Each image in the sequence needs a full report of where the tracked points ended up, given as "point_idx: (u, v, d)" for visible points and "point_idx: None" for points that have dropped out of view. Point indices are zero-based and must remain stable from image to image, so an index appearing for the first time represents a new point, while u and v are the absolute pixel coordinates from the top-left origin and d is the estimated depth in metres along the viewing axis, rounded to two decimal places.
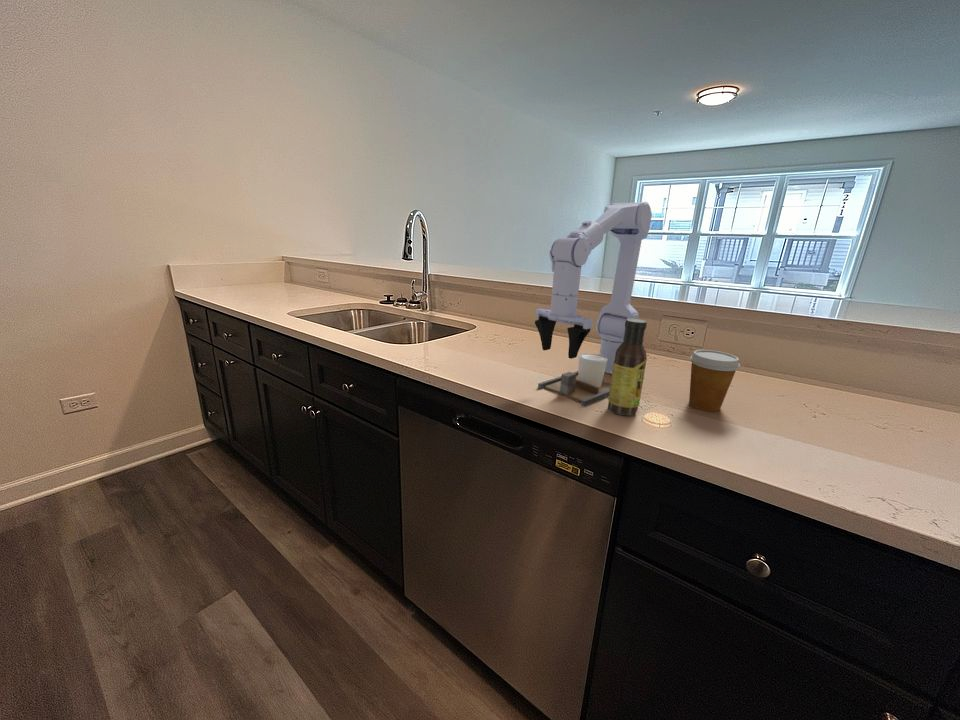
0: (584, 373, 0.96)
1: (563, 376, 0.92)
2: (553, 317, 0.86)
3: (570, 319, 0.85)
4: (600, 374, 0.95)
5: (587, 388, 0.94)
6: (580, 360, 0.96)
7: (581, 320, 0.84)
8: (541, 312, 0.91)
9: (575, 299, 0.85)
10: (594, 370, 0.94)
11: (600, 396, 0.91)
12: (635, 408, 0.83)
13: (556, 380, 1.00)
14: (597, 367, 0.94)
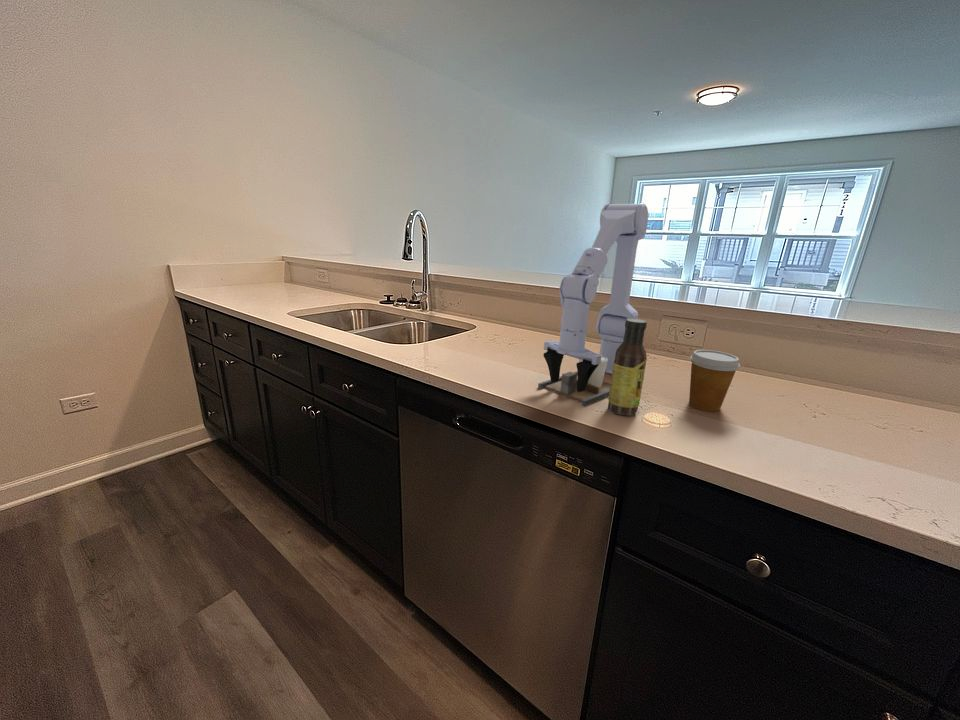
0: None
1: (563, 376, 0.92)
2: (562, 352, 0.87)
3: (579, 354, 0.86)
4: (600, 374, 0.95)
5: (588, 387, 0.94)
6: (580, 360, 0.96)
7: (590, 356, 0.85)
8: (550, 345, 0.93)
9: (584, 334, 0.87)
10: (594, 370, 0.95)
11: (600, 396, 0.91)
12: (635, 408, 0.83)
13: None
14: (598, 367, 0.94)
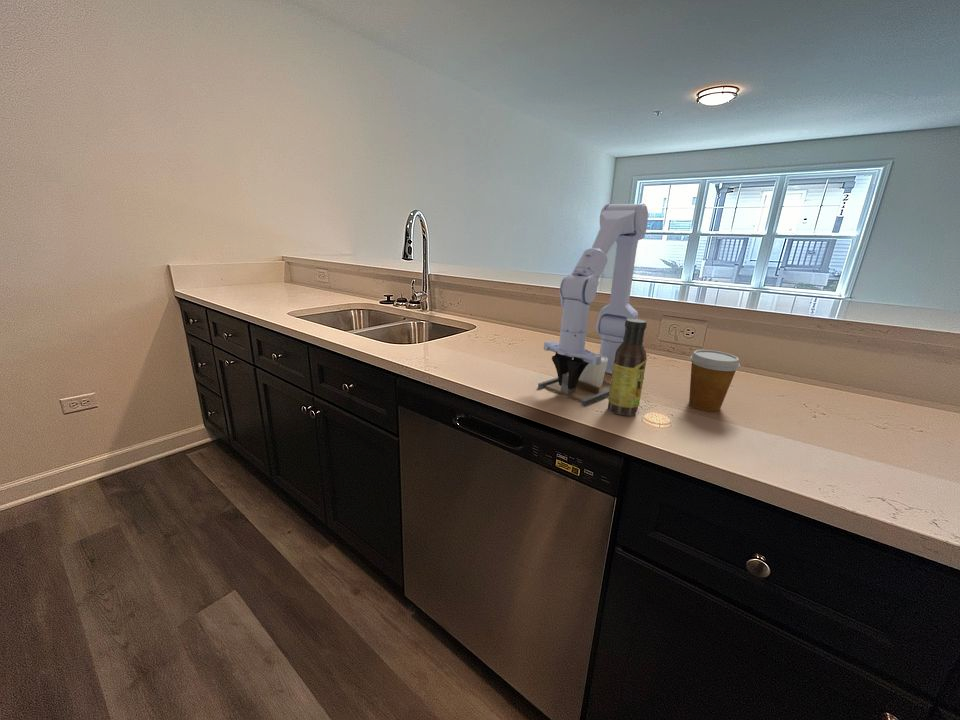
0: (585, 373, 0.96)
1: (564, 376, 0.92)
2: (562, 353, 0.87)
3: (579, 355, 0.86)
4: (601, 374, 0.95)
5: (588, 387, 0.94)
6: None
7: (590, 356, 0.85)
8: (550, 346, 0.93)
9: (584, 335, 0.87)
10: (595, 370, 0.95)
11: (600, 396, 0.91)
12: (635, 408, 0.83)
13: (556, 380, 1.00)
14: (598, 367, 0.94)
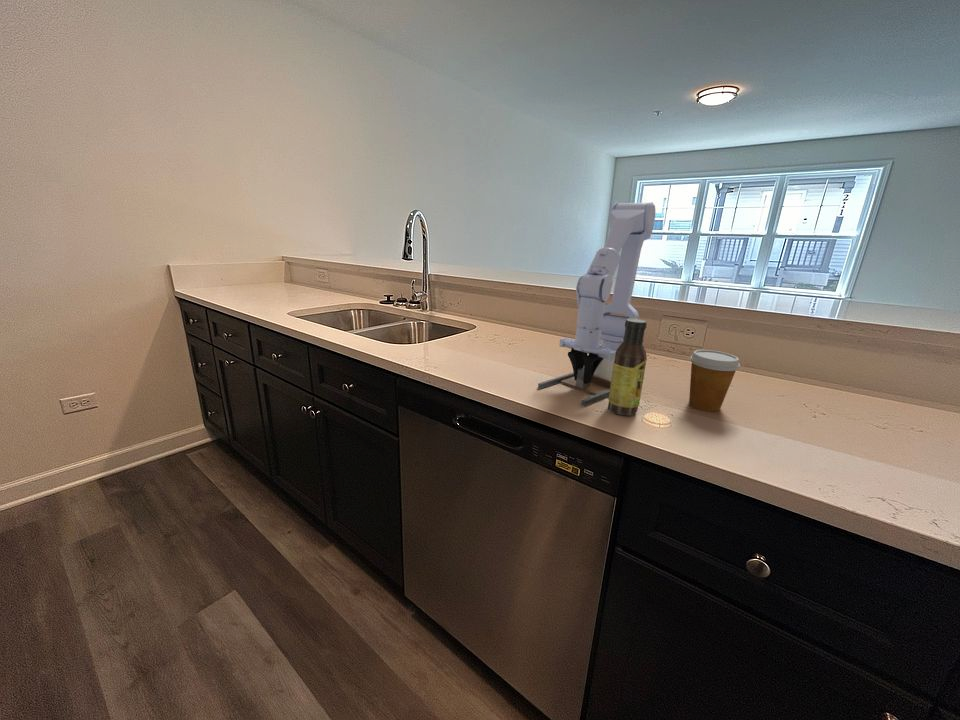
0: (598, 368, 1.00)
1: (579, 371, 0.95)
2: (578, 349, 0.91)
3: (595, 351, 0.90)
4: None
5: (602, 382, 0.98)
6: None
7: (605, 352, 0.89)
8: (565, 342, 0.97)
9: (599, 331, 0.91)
10: (608, 365, 0.98)
11: (600, 396, 0.91)
12: (635, 408, 0.83)
13: (556, 380, 1.00)
14: (612, 363, 0.98)
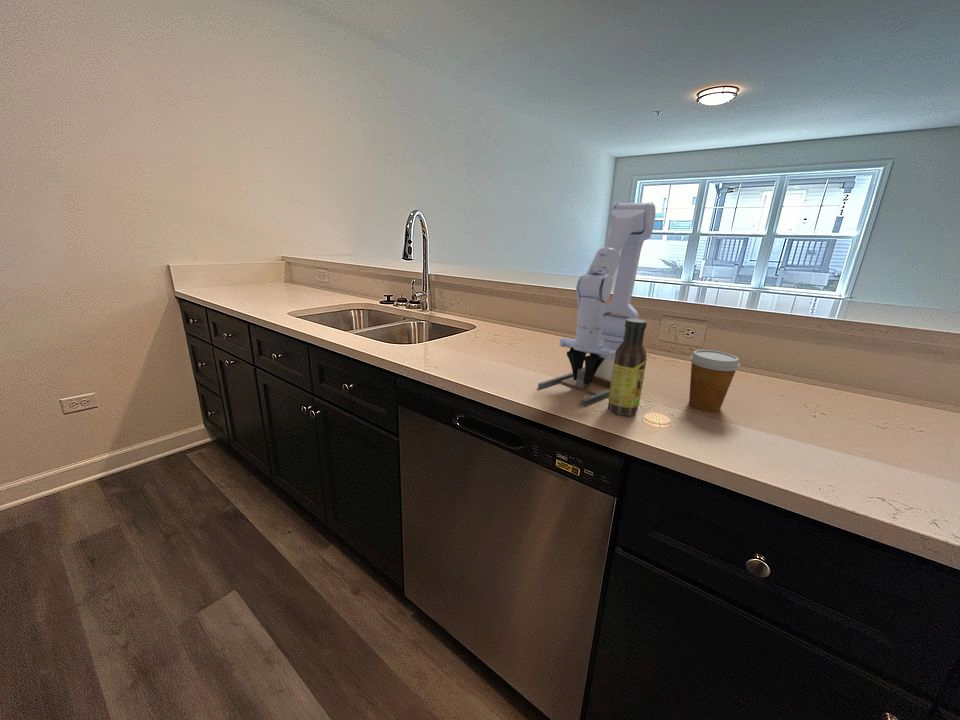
0: (598, 368, 1.00)
1: (579, 371, 0.95)
2: (578, 348, 0.91)
3: (595, 351, 0.90)
4: None
5: (602, 382, 0.98)
6: None
7: (605, 352, 0.89)
8: (565, 342, 0.97)
9: (599, 331, 0.91)
10: (608, 365, 0.98)
11: (600, 396, 0.91)
12: (635, 408, 0.83)
13: (556, 380, 1.00)
14: (612, 363, 0.98)
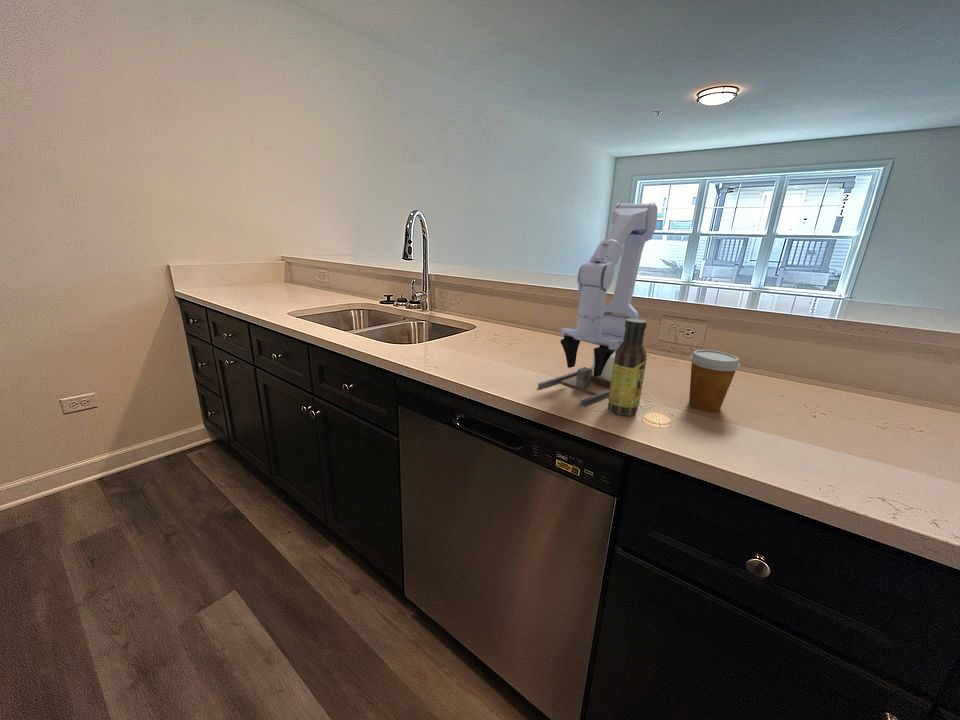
0: None
1: (579, 371, 0.95)
2: (580, 338, 0.90)
3: (596, 340, 0.89)
4: None
5: (602, 382, 0.98)
6: None
7: (607, 341, 0.88)
8: (567, 332, 0.96)
9: (601, 320, 0.90)
10: (608, 365, 0.98)
11: (600, 396, 0.91)
12: (635, 408, 0.83)
13: (556, 380, 1.00)
14: (612, 363, 0.98)
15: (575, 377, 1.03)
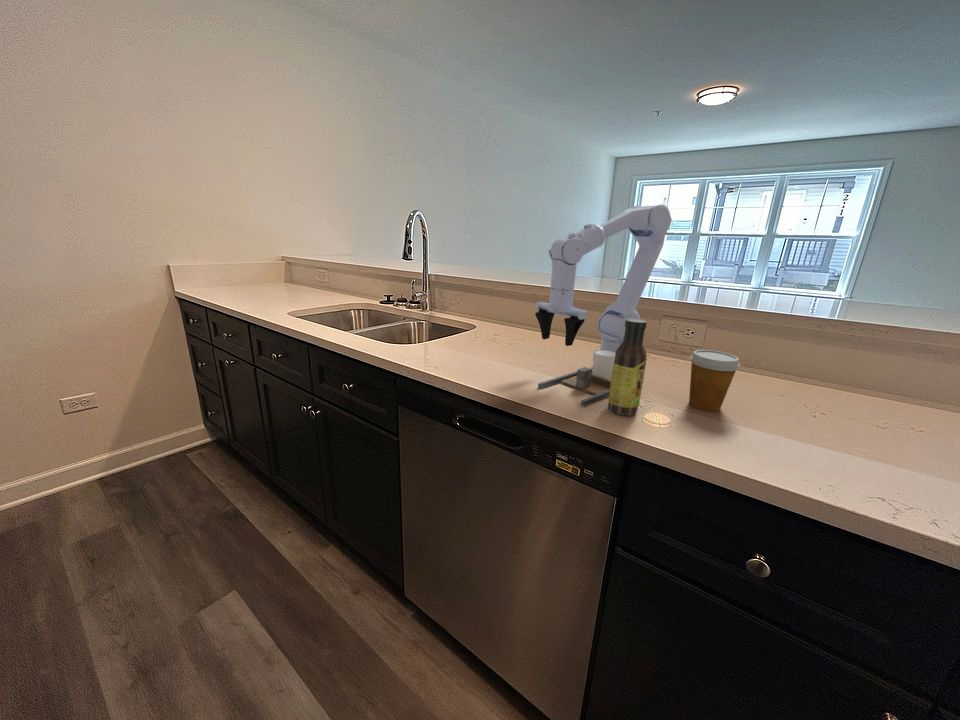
0: (598, 368, 1.00)
1: (579, 371, 0.95)
2: (552, 309, 0.97)
3: (567, 311, 0.96)
4: None
5: (602, 382, 0.98)
6: (595, 356, 1.00)
7: (576, 311, 0.95)
8: (541, 305, 1.02)
9: (571, 293, 0.96)
10: (608, 365, 0.98)
11: (600, 396, 0.91)
12: (635, 408, 0.83)
13: (556, 380, 1.00)
14: (612, 363, 0.98)
15: (575, 377, 1.03)
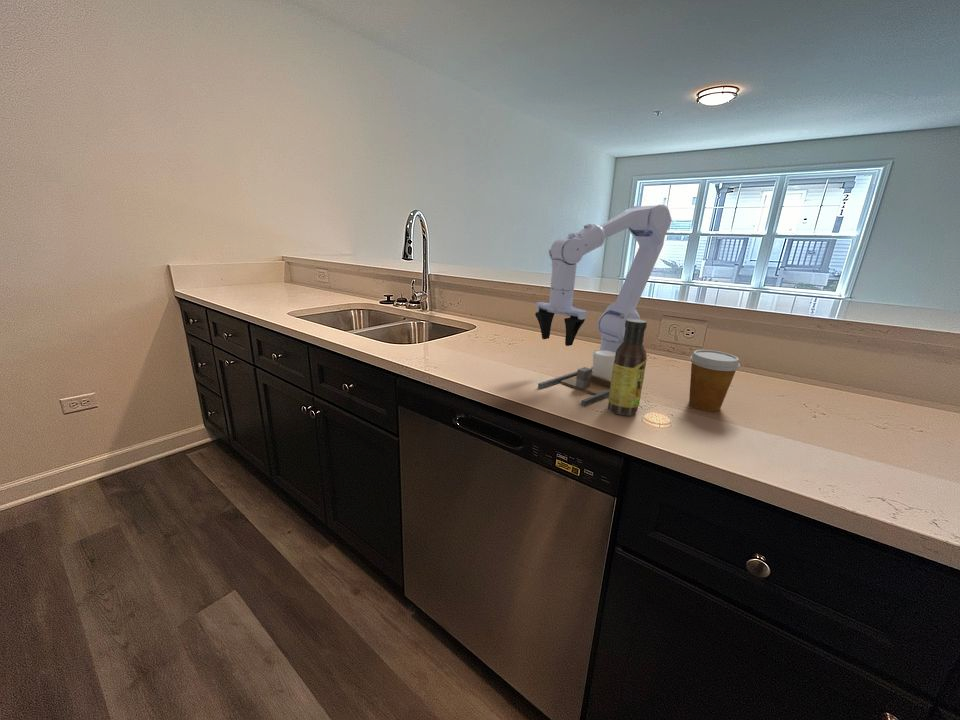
0: (598, 368, 1.00)
1: (579, 371, 0.95)
2: (552, 309, 0.97)
3: (567, 311, 0.96)
4: None
5: (602, 382, 0.98)
6: (595, 356, 1.00)
7: (576, 311, 0.95)
8: (541, 305, 1.02)
9: (571, 293, 0.96)
10: (608, 365, 0.98)
11: (600, 396, 0.91)
12: (635, 408, 0.83)
13: (556, 380, 1.00)
14: (612, 363, 0.98)
15: (575, 377, 1.03)
